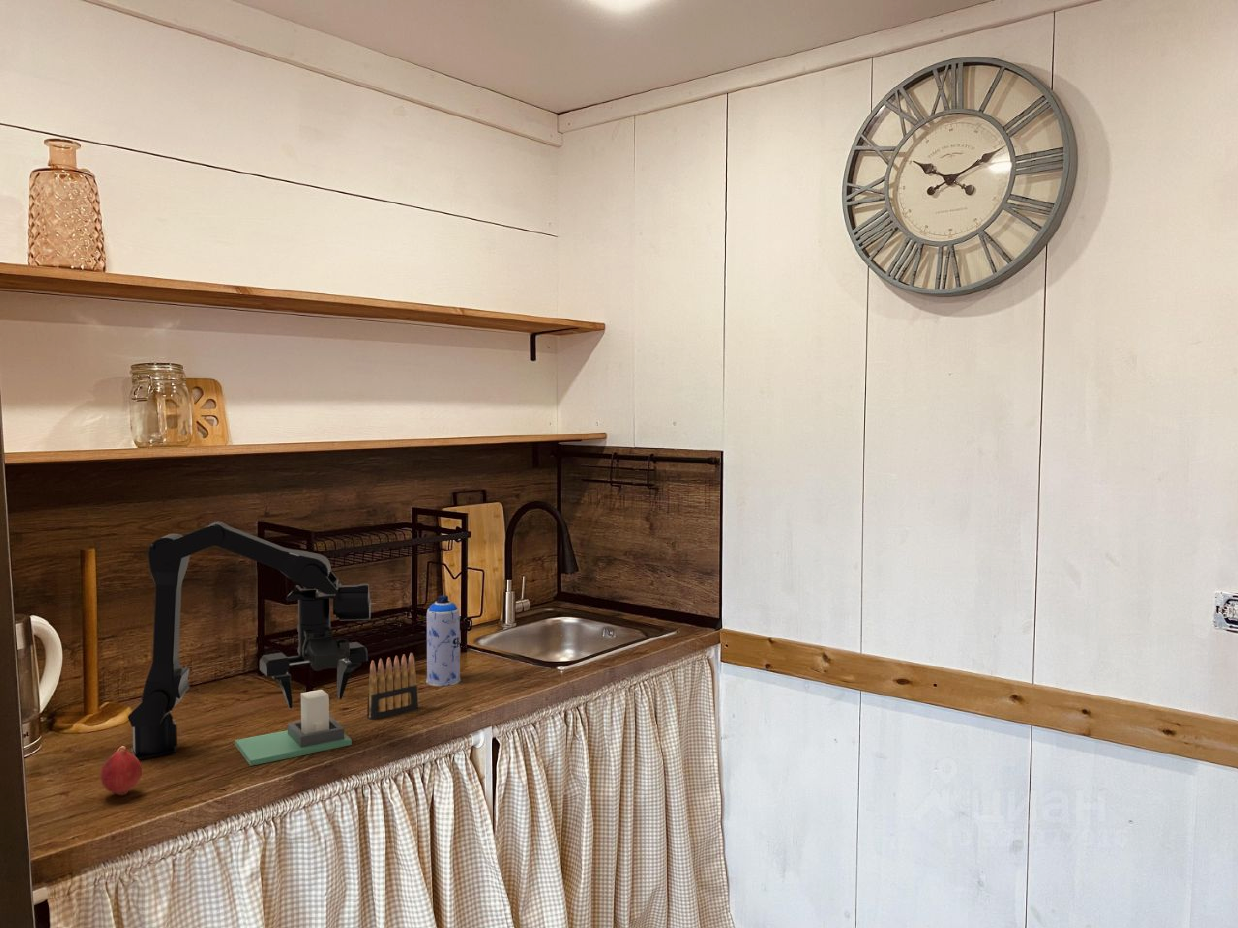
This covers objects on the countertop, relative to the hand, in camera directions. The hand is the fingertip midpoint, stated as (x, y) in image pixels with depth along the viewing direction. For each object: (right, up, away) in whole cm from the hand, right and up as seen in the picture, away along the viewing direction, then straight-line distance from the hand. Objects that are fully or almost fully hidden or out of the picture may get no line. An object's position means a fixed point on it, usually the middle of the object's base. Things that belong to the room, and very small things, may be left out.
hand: (315, 703), depth 170 cm
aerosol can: (+17, -6, +39) cm, 43 cm away
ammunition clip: (+11, -7, +16) cm, 21 cm away
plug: (0, -6, 0) cm, 6 cm away
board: (-3, -7, -2) cm, 8 cm away
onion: (-23, -9, -24) cm, 35 cm away
